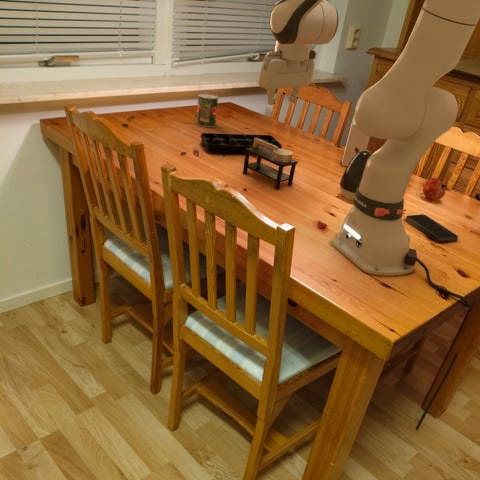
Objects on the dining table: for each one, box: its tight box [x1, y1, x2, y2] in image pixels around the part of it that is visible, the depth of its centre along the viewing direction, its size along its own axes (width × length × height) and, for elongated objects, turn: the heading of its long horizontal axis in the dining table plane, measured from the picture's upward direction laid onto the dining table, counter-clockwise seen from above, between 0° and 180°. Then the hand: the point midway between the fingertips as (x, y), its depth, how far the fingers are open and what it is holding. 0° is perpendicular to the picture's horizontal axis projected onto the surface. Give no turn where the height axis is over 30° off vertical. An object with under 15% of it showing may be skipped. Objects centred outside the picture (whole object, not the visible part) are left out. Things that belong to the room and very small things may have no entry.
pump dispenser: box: [339, 148, 373, 202], centre depth 149 cm, size 10×10×15 cm
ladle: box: [253, 138, 294, 163], centre depth 152 cm, size 15×6×3 cm, turn 45°
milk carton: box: [341, 113, 371, 168], centre depth 174 cm, size 7×7×19 cm
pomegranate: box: [421, 177, 448, 202], centre depth 160 cm, size 7×7×10 cm
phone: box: [405, 213, 459, 244], centre depth 141 cm, size 8×1×15 cm
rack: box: [242, 145, 298, 190], centre depth 155 cm, size 16×8×8 cm, turn 45°
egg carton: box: [200, 132, 283, 156], centre depth 177 cm, size 18×30×4 cm, turn 120°
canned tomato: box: [195, 92, 219, 128], centre depth 194 cm, size 8×8×11 cm
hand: (281, 103), depth 143 cm, fingers open, 8 cm apart
